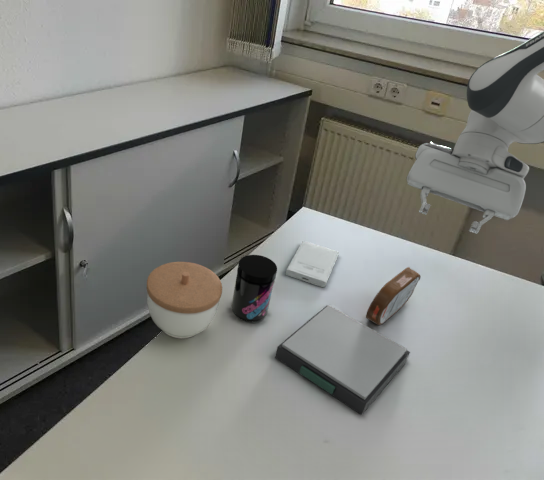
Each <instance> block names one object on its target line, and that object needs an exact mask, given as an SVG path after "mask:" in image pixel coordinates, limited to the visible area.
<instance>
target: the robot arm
mask: <svg viewBox="0 0 544 480" xmlns="http://www.w3.org/2000/svg"><path fill="white" fill-rule="evenodd" d="M543 71H544V30H543V31H541V32H540V33H538V34H536V35H535V36H533V37H532V38H530V39H528V40H527V41H525V42H523V43H521V44H520V45H518V46H517V47H515V48H513V49H510V50H509V51H506V52H504V53H502V54H499V55H498V56H495V57H493V58H491V59H489V60H487V61H486V62H484V63H482V64H481V65H480V66H479V67H477V68H476V69H475V71H474V72H473V73H472V74H471V76H470V77H469V79H468V81H467V85H466V102H467V106H468V107H469V109H470V112H469V113H468V116H467V121H466V125H465V127H464V128H463V130H462V131H461V133H459V136H458V137H457V141H456V143H455V144H454V146H453V148H451V147H447V146H444V145H440V144H438V143H435V142H432V141H430V142H429V143H428V142H425V143H422V144H420V145H419V146H418V147H417V149H416V152H415V154H414V158H415V161H414V162H413V164H412V166H411V168H410V170H409V172H408V174H407V176H406V179H405V180H406V183H407V185H408V186H410V187H412V188H415V189H418V190H421V191H420V193H419V199H420V204H421V205H420V208H419V210H418V213H420V214H423V215H425V216H426V215H427V214H428V212H429V210H430V207H431V206H432V204H431V203H428V202H427V201H428V200H427V197H428V195H430V194H432V195H435V196H438V197H441V198H443V199H446V200H449V201H452V202H455V203H457V204H459V205H462V206H466V207H468V208H470V209H474V210H476V211H480V212H483V214H482V218H483V219H482V220H480V221H476V220H474V221H472V223H471V225H470V227H469V229H468V232H470V233H473V234H479V232H480V230H481V229H482V226H483V225H485V224H486V223H487V222H489V221H490V220H491V219H493V217H496V218H499V219H502V220H504V221H509V220H512V219H513V218H515V217H516V216H517V215H518V214H519V212H520V210H521V207H522V205H523V202H524V199H525V195H526V190H527V184H526V180H525V178H526V177H527V175H528V173H529V171H530V166H529V165H528V164H527V163H525V162H524V161H522V160H521V159H520V158H518V157H517V156H515V155H514V154H512V153H511V152H509V147H510V145H512V144H513V143H517V144H523V145H537V144H539V145H540V144H544V78H543V77H541V76H540V75H539V74H540V73H541V72H543Z"/></svg>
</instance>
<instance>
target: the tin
mask: <svg viewBox="0 0 544 480" xmlns="http://www.w3.org/2000/svg"><path fill="white" fill-rule="evenodd" d="M420 280H421V274H420V273H419V272H417V271H415V270H413V269H412V268H411V266H407V267H406V268H404V269H403V270H402V271H400V272H399V273H397V275H395V276H394V277H392V278H391V279H390V280H388V281H387V282H386V283H385V284H384V285H383V286H382V287H381V288H380V290H379V291H378V292H377V294H376V295H375V296H374V298H373V300H372V301H371V303H370V305H369V306H368V308H367V311H366V314H365V318H366V320H369V321H370V322H372V323H374V324H375V325H378V326H381V325H383V324H384V323H386V322H387V321H388V320H389V319H390V318H391V317H393V316H394V315H395V314H396V313H397V312H398V311H399V310H401V309H402V308H403V307H404V306H405V305H406V303H407V302H409V300H410V298H411V297H412V295H413V293H414V291H415V288H416V286H417V285H418V283H419V281H420Z"/></svg>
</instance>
